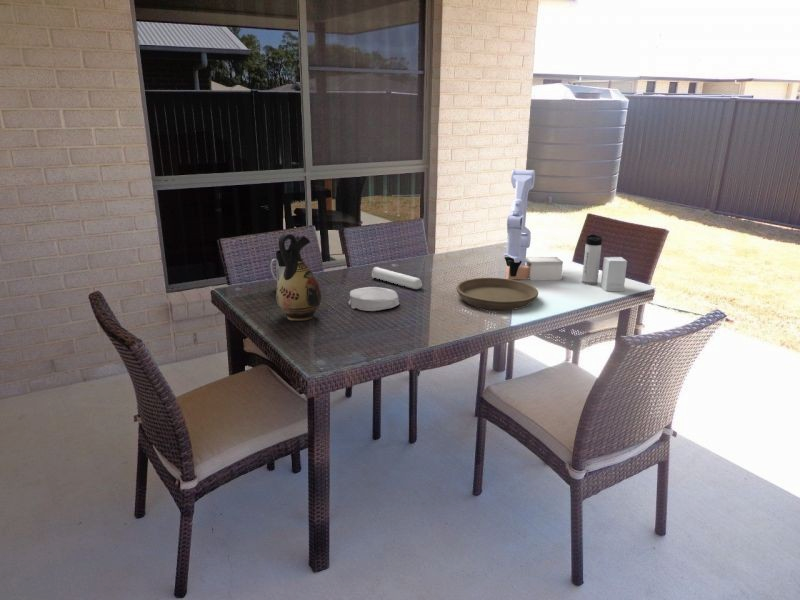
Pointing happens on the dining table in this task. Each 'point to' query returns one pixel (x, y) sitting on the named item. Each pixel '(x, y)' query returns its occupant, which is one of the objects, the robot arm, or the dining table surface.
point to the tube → (396, 278)
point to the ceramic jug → (297, 282)
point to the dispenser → (544, 268)
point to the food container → (373, 298)
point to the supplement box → (613, 273)
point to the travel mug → (592, 259)
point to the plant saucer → (497, 293)
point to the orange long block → (519, 272)
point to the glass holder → (279, 265)
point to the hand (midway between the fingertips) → (511, 274)
